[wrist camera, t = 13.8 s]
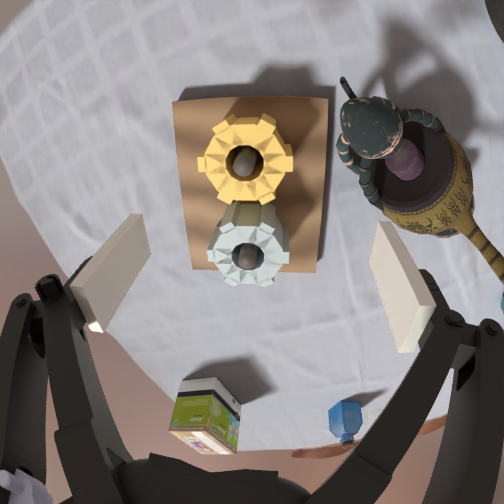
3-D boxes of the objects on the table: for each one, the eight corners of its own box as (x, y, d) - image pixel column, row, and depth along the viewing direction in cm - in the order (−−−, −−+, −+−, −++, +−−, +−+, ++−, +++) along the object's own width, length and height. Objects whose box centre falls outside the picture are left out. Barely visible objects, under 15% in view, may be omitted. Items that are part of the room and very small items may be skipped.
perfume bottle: (360, 403, 67) (365, 442, 56) (347, 412, 70) (350, 450, 60) (340, 400, 66) (344, 441, 56) (328, 410, 69) (330, 449, 59)
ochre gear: (212, 185, 36) (201, 204, 31) (207, 114, 31) (194, 121, 26) (289, 186, 36) (291, 205, 31) (290, 113, 31) (293, 119, 26)
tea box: (243, 405, 70) (237, 455, 57) (209, 407, 72) (200, 455, 60) (216, 375, 62) (205, 433, 50) (180, 379, 65) (165, 432, 53)
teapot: (427, 137, 35) (327, 30, 22) (552, 260, 19) (586, 168, 5) (380, 196, 41) (260, 122, 28) (485, 332, 25) (429, 350, 11)
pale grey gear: (204, 218, 39) (193, 242, 34) (263, 186, 36) (260, 206, 31) (242, 270, 43) (237, 297, 38) (298, 244, 40) (301, 271, 35)
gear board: (177, 100, 32) (148, 108, 25) (325, 97, 31) (340, 103, 23) (195, 261, 45) (180, 300, 38) (314, 264, 44) (320, 306, 36)
